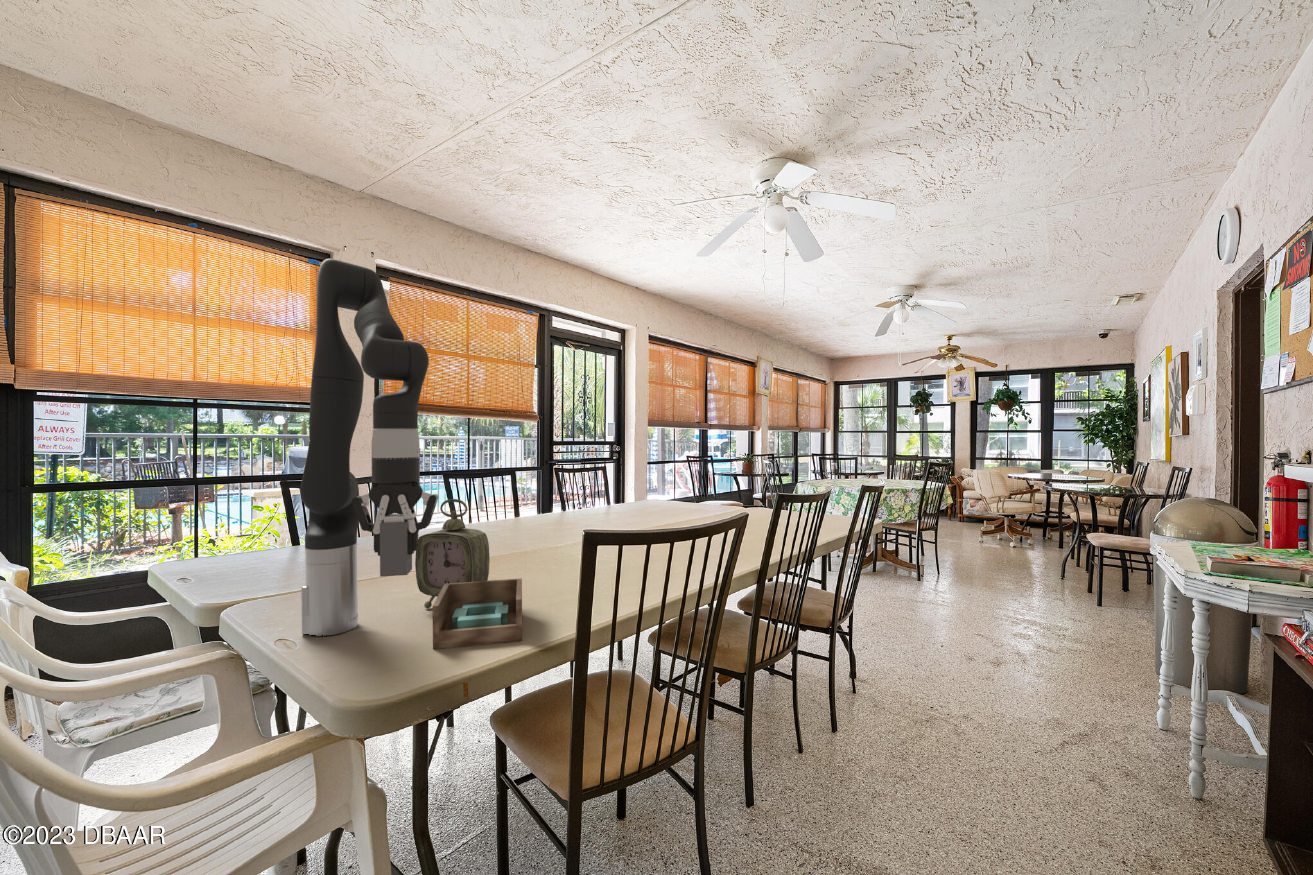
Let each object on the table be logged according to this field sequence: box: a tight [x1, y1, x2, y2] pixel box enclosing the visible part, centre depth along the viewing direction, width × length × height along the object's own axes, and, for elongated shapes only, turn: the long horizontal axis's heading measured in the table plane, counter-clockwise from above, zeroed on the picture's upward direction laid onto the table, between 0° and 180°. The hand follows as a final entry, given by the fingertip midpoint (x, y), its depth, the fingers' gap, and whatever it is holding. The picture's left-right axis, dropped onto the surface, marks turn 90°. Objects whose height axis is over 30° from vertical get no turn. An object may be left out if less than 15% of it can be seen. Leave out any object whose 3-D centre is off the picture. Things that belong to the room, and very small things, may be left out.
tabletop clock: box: [414, 498, 491, 609], centre depth 127 cm, size 14×9×25 cm, turn 76°
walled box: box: [432, 577, 523, 650], centre depth 111 cm, size 16×16×8 cm
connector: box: [379, 513, 413, 578], centre depth 95 cm, size 4×4×10 cm
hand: (396, 553), depth 95 cm, fingers closed on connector, 4 cm apart
